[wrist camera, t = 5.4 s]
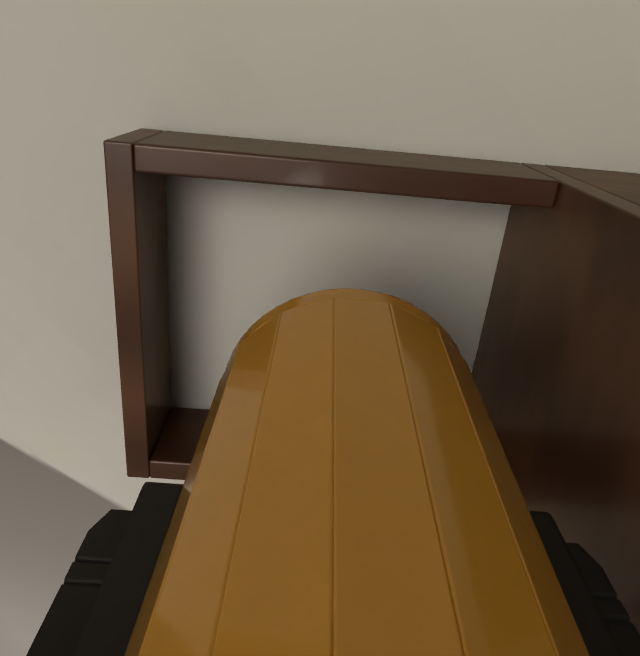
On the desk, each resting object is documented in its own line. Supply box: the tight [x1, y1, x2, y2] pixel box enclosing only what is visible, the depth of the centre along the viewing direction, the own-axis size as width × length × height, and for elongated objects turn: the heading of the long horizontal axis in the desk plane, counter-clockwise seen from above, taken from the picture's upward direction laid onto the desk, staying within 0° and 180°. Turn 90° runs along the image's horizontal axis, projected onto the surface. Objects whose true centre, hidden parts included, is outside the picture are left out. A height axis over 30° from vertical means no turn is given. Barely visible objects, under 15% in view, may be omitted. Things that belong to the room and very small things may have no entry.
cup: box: [124, 289, 590, 656], centre depth 9 cm, size 6×6×9 cm
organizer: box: [104, 129, 640, 635], centre depth 15 cm, size 12×23×13 cm, turn 85°
